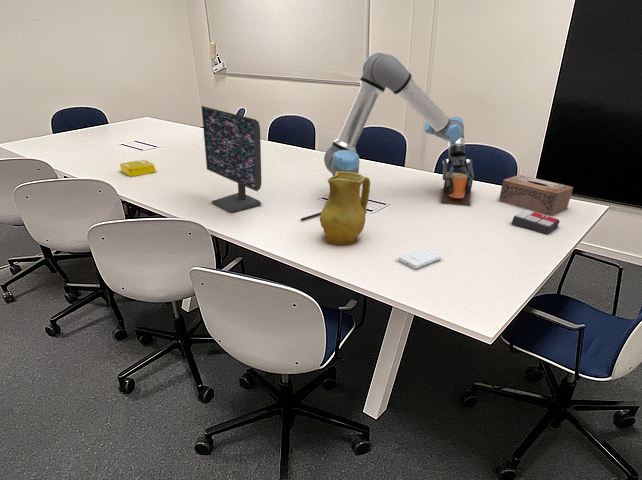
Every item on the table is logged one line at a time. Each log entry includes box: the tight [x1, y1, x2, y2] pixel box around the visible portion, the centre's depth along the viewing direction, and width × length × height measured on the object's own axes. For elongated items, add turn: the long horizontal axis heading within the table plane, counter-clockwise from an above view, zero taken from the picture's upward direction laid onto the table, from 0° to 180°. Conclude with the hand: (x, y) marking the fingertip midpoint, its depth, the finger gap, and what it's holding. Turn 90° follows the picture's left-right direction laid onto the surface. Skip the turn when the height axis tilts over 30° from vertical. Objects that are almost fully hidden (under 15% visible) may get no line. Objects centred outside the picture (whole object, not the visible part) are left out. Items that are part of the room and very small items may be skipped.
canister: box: [449, 172, 467, 198], centre depth 208 cm, size 7×7×10 cm
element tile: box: [119, 159, 156, 177], centre depth 251 cm, size 15×15×5 cm
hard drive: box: [398, 248, 442, 270], centre depth 157 cm, size 2×8×12 cm
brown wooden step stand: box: [440, 171, 474, 207], centre depth 215 cm, size 24×13×8 cm, turn 164°
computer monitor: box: [201, 105, 262, 214], centre depth 196 cm, size 44×16×40 cm, turn 40°
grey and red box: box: [511, 209, 561, 235], centre depth 184 cm, size 11×4×15 cm
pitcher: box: [319, 171, 371, 246], centre depth 167 cm, size 17×19×25 cm
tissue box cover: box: [498, 174, 574, 217], centre depth 205 cm, size 26×14×10 cm, turn 39°
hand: (459, 193), depth 206 cm, fingers closed on canister, 7 cm apart
